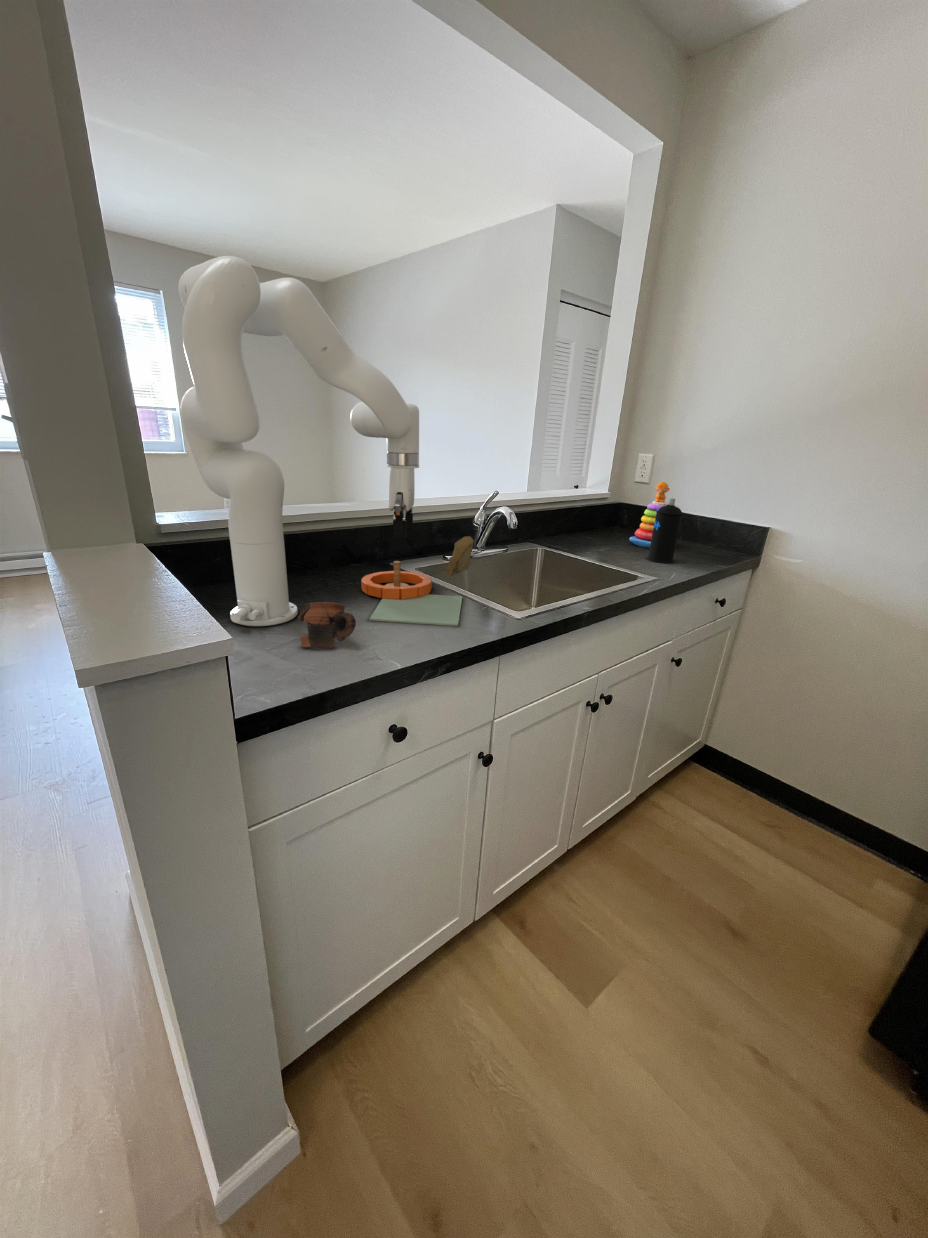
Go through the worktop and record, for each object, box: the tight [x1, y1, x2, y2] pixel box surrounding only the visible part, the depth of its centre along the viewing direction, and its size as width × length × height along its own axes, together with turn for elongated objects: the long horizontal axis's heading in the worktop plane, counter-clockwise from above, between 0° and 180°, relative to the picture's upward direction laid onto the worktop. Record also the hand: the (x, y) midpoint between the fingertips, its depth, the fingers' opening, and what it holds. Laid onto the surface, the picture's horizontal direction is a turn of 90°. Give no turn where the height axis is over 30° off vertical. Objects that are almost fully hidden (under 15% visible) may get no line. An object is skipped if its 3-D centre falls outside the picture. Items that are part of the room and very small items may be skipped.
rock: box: [444, 535, 475, 576], centre depth 137 cm, size 11×9×10 cm
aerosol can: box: [646, 497, 684, 564], centre depth 160 cm, size 8×8×20 cm
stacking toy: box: [628, 480, 670, 549], centre depth 181 cm, size 14×13×23 cm
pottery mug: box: [297, 601, 357, 649], centre depth 89 cm, size 12×10×8 cm
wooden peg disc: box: [384, 560, 410, 587], centre depth 119 cm, size 6×6×7 cm
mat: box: [369, 593, 463, 627], centre depth 108 cm, size 18×18×1 cm
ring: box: [360, 570, 433, 599], centre depth 119 cm, size 16×16×2 cm
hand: (403, 532), depth 122 cm, fingers open, 9 cm apart
